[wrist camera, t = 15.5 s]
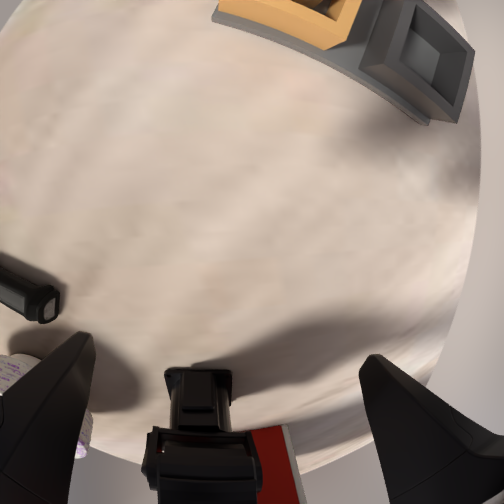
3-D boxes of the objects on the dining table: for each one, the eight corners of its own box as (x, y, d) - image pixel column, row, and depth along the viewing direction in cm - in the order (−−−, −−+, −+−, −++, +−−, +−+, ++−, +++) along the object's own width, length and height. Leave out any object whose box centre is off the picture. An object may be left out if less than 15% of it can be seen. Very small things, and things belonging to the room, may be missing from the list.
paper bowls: (121, 412, 28) (113, 466, 21) (46, 411, 28) (34, 452, 21) (46, 326, 20) (15, 389, 13) (-20, 339, 20) (-45, 382, 13)
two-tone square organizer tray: (442, 50, 13) (477, 48, 10) (419, 124, 16) (456, 131, 13) (256, -56, 9) (266, -85, 6) (211, 21, 12) (211, -4, 9)
